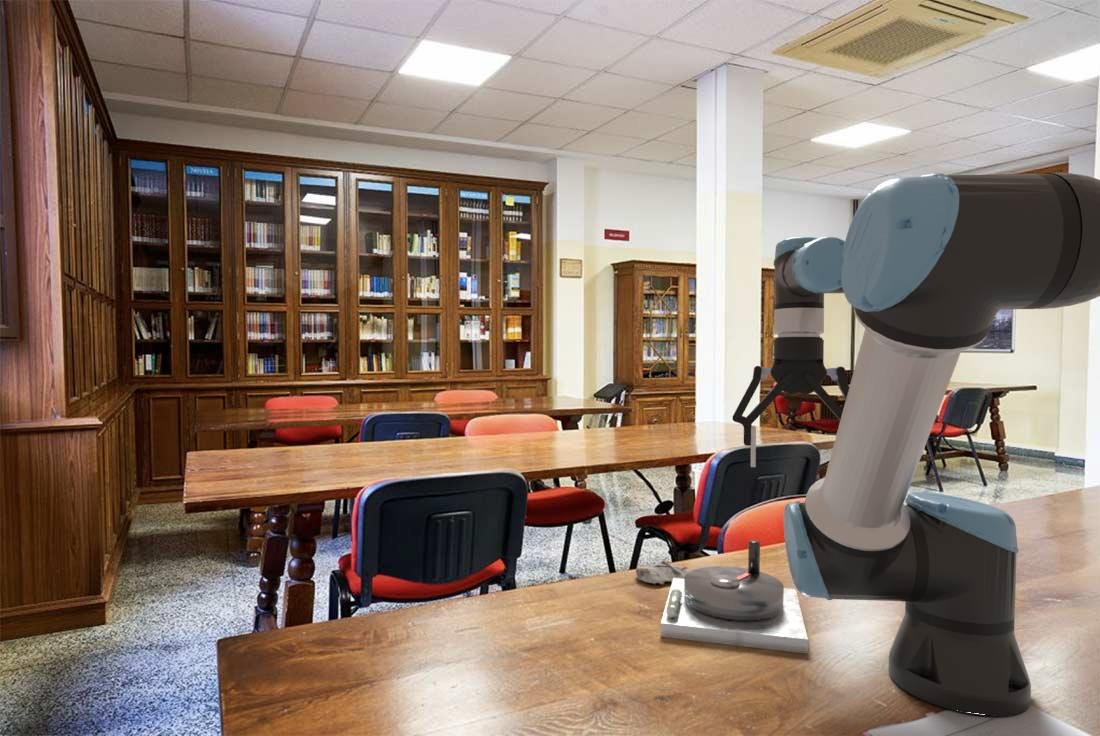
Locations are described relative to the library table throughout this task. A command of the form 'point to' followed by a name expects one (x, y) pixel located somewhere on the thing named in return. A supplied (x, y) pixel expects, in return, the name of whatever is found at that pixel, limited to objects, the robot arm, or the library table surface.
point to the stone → (661, 572)
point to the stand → (735, 625)
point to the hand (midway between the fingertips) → (797, 468)
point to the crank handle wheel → (735, 590)
